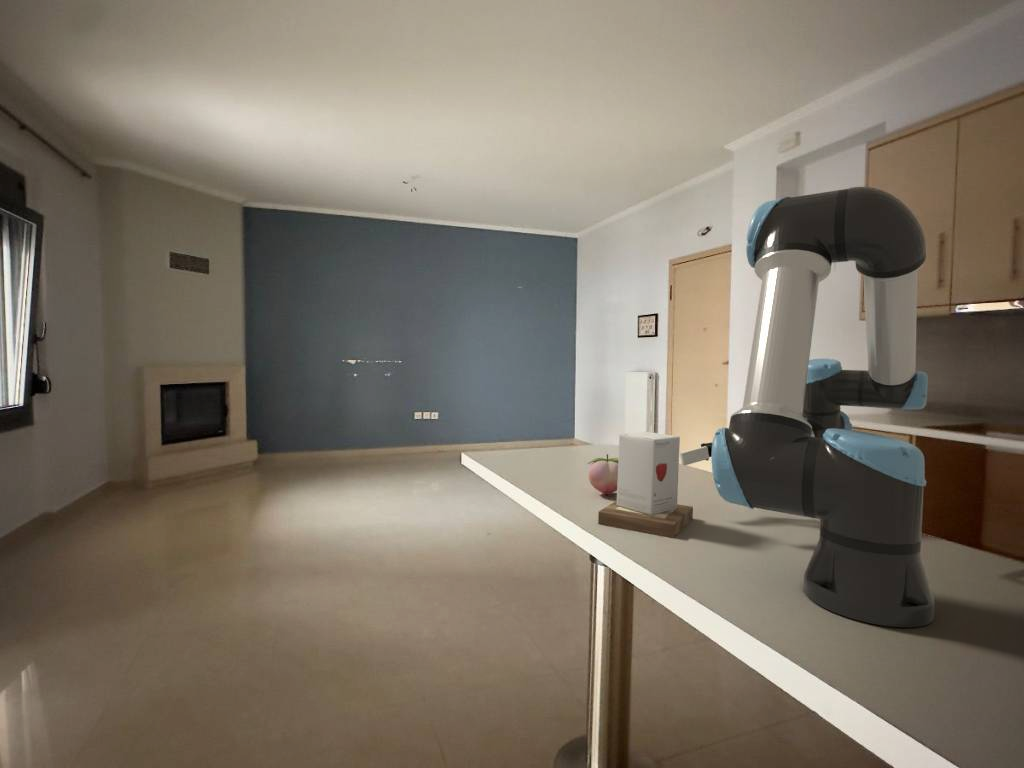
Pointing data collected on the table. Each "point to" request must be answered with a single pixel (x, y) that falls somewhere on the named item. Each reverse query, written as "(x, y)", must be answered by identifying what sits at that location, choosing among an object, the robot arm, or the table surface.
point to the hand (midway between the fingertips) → (701, 463)
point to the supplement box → (648, 472)
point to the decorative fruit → (604, 474)
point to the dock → (646, 519)
